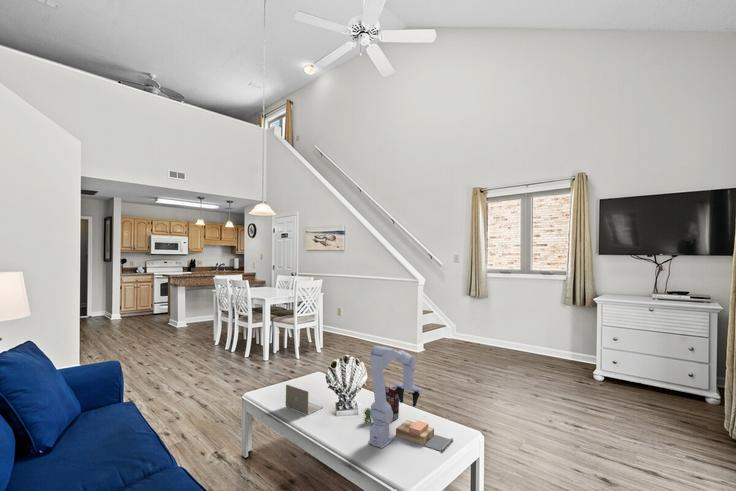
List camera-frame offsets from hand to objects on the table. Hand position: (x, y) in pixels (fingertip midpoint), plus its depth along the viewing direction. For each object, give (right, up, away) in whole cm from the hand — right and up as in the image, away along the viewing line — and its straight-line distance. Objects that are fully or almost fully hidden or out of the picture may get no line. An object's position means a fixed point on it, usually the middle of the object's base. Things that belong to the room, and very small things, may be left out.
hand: (408, 404), depth 192 cm
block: (+4, -6, -14) cm, 16 cm away
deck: (+2, -10, -13) cm, 16 cm away
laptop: (-57, -10, +18) cm, 61 cm away
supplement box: (-9, -10, +7) cm, 15 cm away
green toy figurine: (-21, -10, 0) cm, 23 cm away
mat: (+12, -10, -20) cm, 25 cm away
